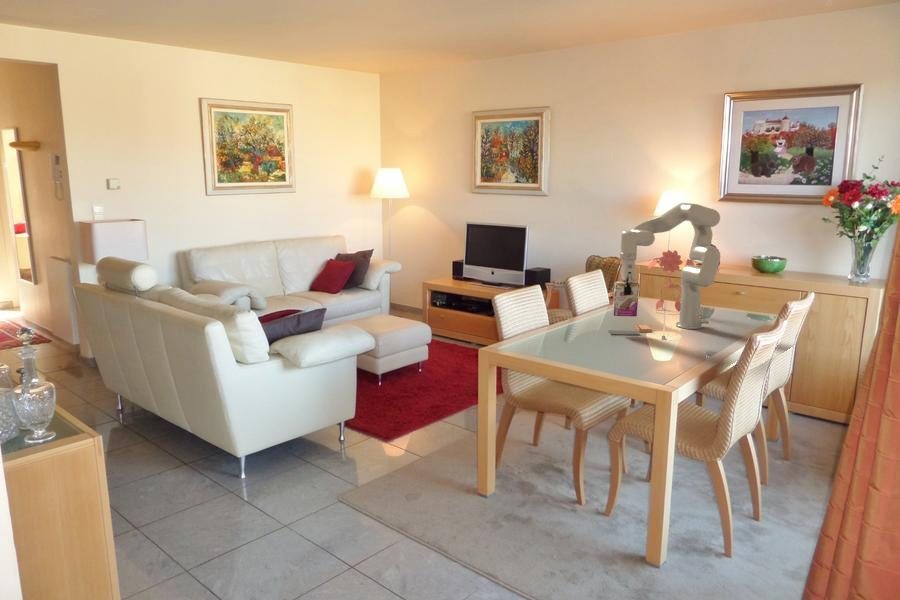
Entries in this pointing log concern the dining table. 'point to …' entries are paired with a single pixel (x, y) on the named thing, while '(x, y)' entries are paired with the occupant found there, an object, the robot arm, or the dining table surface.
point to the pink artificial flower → (670, 263)
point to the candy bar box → (625, 300)
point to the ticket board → (643, 328)
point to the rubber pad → (623, 332)
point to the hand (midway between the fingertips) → (626, 293)
